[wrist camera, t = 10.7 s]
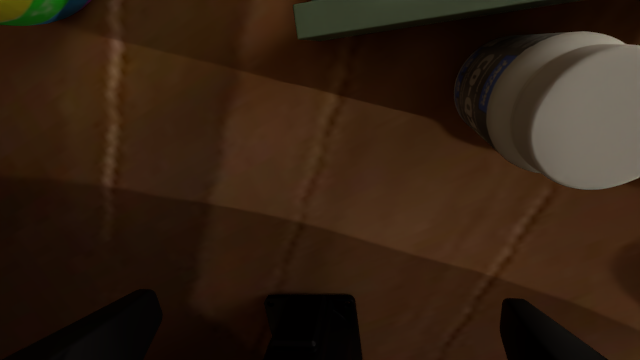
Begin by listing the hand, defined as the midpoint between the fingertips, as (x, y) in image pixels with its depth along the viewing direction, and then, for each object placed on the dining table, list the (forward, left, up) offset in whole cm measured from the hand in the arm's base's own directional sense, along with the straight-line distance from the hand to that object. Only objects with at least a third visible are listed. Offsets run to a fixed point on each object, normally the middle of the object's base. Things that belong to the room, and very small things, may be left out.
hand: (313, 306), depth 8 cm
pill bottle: (+3, -8, -12) cm, 15 cm away
